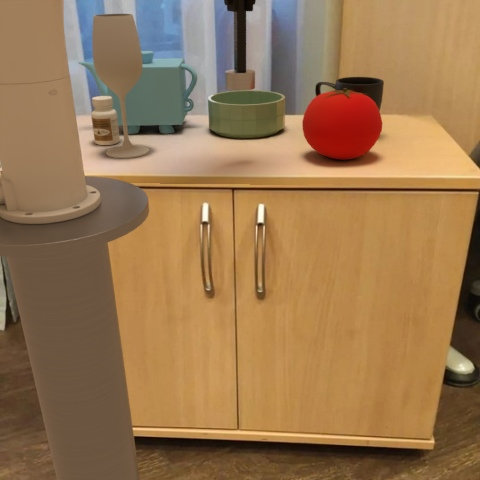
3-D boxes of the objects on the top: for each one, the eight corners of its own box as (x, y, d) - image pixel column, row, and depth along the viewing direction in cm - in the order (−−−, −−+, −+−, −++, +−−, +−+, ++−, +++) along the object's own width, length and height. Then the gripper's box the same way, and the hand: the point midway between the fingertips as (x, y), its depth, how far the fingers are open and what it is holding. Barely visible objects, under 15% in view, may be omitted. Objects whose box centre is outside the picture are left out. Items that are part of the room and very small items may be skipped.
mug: (323, 126, 115) (326, 74, 111) (384, 133, 110) (390, 78, 105) (306, 136, 109) (308, 81, 104) (370, 143, 104) (375, 86, 99)
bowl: (224, 142, 106) (223, 107, 103) (199, 125, 118) (198, 93, 115) (297, 134, 110) (298, 100, 107) (266, 118, 122) (266, 87, 119)
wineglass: (134, 160, 97) (119, 17, 87) (95, 155, 100) (77, 16, 90) (158, 148, 103) (147, 13, 93) (121, 144, 106) (107, 13, 96)
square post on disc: (231, 91, 88) (230, -34, 80) (221, 86, 91) (219, -34, 84) (259, 89, 89) (260, -35, 82) (248, 84, 93) (248, -34, 85)
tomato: (391, 160, 95) (399, 90, 90) (325, 171, 91) (329, 98, 86) (351, 143, 104) (355, 79, 99) (289, 153, 100) (290, 86, 94)
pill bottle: (90, 144, 106) (84, 99, 103) (102, 138, 110) (97, 94, 106) (112, 146, 105) (107, 100, 101) (124, 140, 109) (119, 95, 105)
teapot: (201, 120, 122) (198, 46, 115) (197, 133, 112) (193, 54, 105) (93, 122, 122) (83, 48, 115) (79, 135, 112) (68, 56, 106)
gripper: (188, -159, 71) (195, 14, 80) (307, -151, 76) (301, 11, 85) (171, -148, 77) (179, 11, 86) (282, -142, 82) (279, 8, 91)
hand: (239, 10), depth 85 cm, fingers closed on square post on disc
